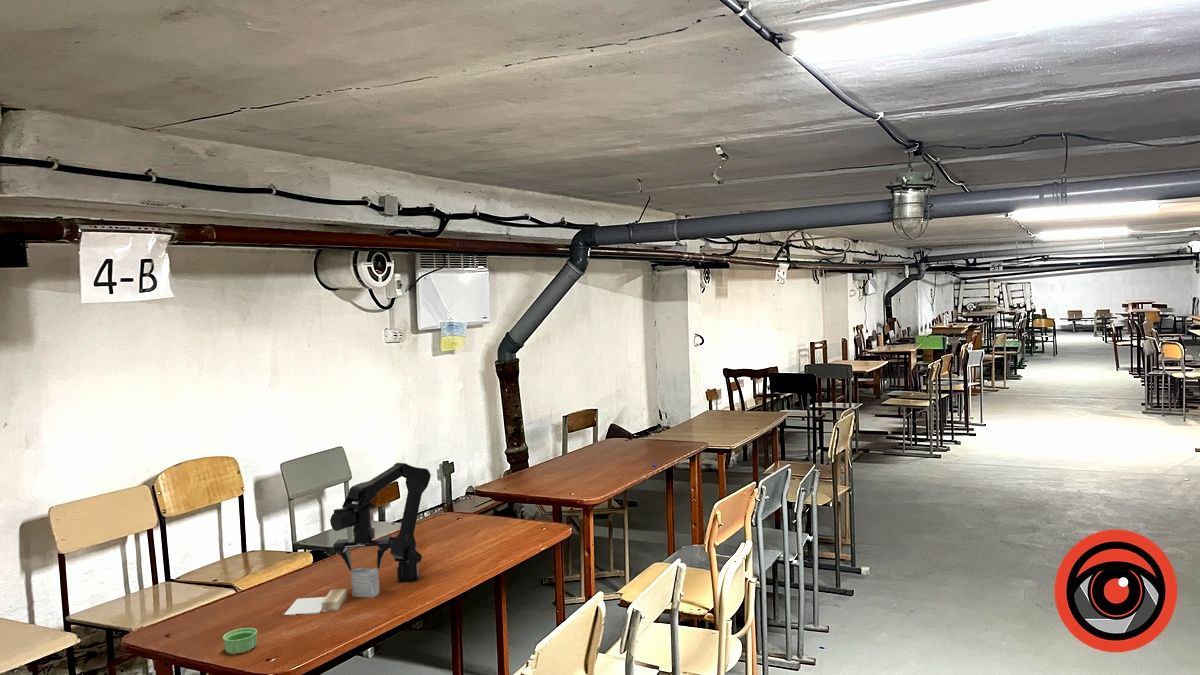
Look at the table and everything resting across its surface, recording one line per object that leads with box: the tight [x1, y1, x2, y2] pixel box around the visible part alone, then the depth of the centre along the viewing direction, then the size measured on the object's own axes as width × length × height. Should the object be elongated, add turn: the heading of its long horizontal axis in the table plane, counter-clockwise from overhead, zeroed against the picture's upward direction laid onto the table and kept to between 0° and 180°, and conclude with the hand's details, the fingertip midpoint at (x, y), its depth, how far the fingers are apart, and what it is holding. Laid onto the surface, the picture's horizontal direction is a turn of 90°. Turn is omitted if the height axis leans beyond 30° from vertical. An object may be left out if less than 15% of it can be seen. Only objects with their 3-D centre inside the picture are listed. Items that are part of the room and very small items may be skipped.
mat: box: [283, 596, 326, 616], centre depth 261 cm, size 11×14×1 cm
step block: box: [321, 588, 348, 613], centre depth 261 cm, size 5×12×3 cm, turn 4°
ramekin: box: [222, 627, 258, 655], centre depth 229 cm, size 9×9×4 cm
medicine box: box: [350, 567, 380, 599], centre depth 269 cm, size 8×4×9 cm, turn 71°
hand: (364, 569), depth 269 cm, fingers open, 9 cm apart
